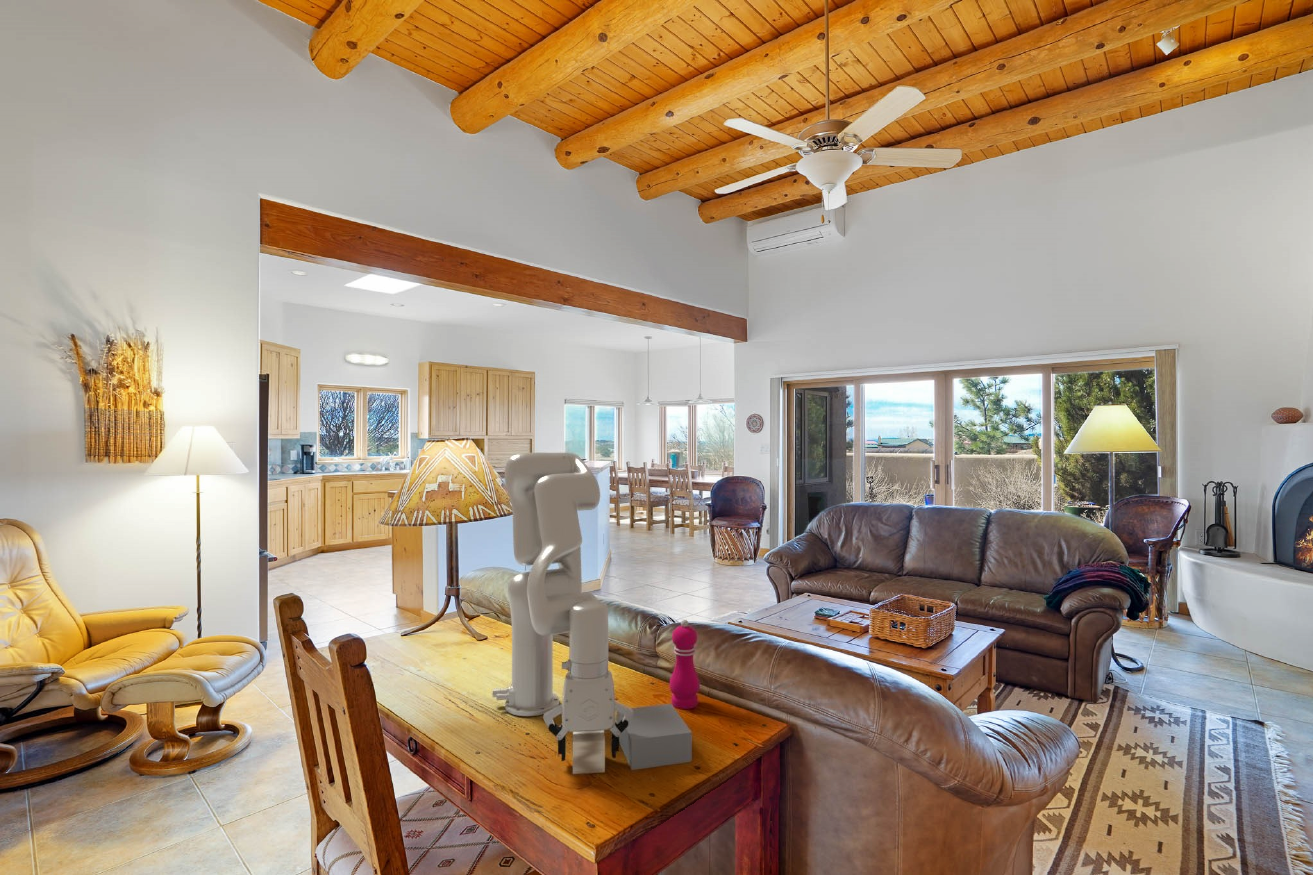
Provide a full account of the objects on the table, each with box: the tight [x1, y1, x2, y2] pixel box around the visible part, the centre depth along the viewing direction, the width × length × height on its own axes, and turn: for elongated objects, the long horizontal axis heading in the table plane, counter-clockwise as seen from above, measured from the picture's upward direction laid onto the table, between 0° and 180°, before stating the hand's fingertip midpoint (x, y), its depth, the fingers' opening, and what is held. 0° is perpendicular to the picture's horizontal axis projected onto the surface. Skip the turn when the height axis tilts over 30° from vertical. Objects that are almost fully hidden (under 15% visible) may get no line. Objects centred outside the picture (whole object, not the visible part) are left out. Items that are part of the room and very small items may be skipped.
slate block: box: [616, 703, 693, 771], centre depth 128 cm, size 12×14×6 cm
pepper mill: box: [668, 619, 701, 710], centre depth 150 cm, size 7×7×20 cm
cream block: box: [572, 730, 606, 775], centre depth 121 cm, size 6×6×6 cm
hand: (588, 756), depth 121 cm, fingers open, 9 cm apart
